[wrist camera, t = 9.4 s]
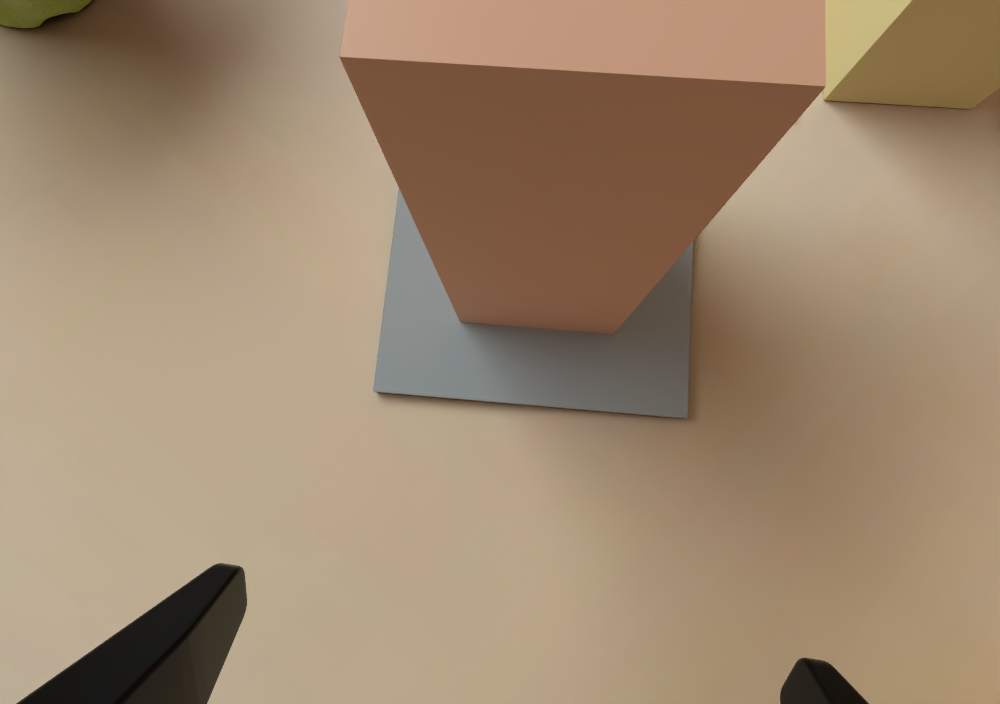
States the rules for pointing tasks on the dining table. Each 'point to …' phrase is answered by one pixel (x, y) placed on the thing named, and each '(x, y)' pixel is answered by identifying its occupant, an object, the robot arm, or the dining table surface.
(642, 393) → the coaster
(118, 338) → the dining table surface
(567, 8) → the stub
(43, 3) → the plant pot
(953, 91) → the block
